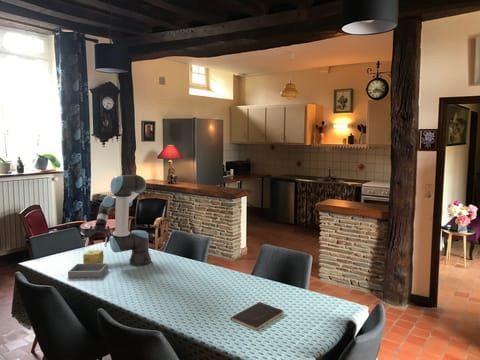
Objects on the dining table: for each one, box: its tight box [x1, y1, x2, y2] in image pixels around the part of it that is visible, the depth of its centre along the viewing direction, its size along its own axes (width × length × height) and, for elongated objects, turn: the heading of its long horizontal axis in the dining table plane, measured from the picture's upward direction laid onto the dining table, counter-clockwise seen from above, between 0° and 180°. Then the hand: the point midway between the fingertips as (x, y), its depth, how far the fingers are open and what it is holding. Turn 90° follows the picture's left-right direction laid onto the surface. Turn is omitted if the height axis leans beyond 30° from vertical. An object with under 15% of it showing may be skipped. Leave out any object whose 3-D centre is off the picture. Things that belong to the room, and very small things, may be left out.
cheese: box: [82, 249, 105, 264], centre depth 260 cm, size 10×11×10 cm
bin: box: [67, 263, 109, 280], centre depth 245 cm, size 20×15×4 cm
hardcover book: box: [230, 301, 284, 331], centre depth 188 cm, size 16×23×2 cm
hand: (95, 246), depth 267 cm, fingers open, 13 cm apart
